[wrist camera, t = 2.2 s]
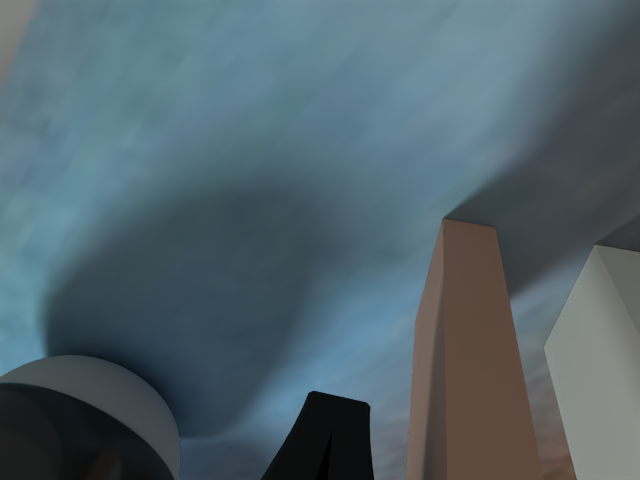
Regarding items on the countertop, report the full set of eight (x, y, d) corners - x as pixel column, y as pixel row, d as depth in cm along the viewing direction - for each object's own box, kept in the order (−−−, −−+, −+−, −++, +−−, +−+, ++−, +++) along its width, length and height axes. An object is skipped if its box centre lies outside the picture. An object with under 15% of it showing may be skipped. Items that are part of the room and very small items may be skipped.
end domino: (495, 227, 15) (553, 532, 7) (460, 330, 17) (476, 635, 10) (443, 218, 15) (447, 507, 8) (415, 321, 17) (398, 614, 10)
